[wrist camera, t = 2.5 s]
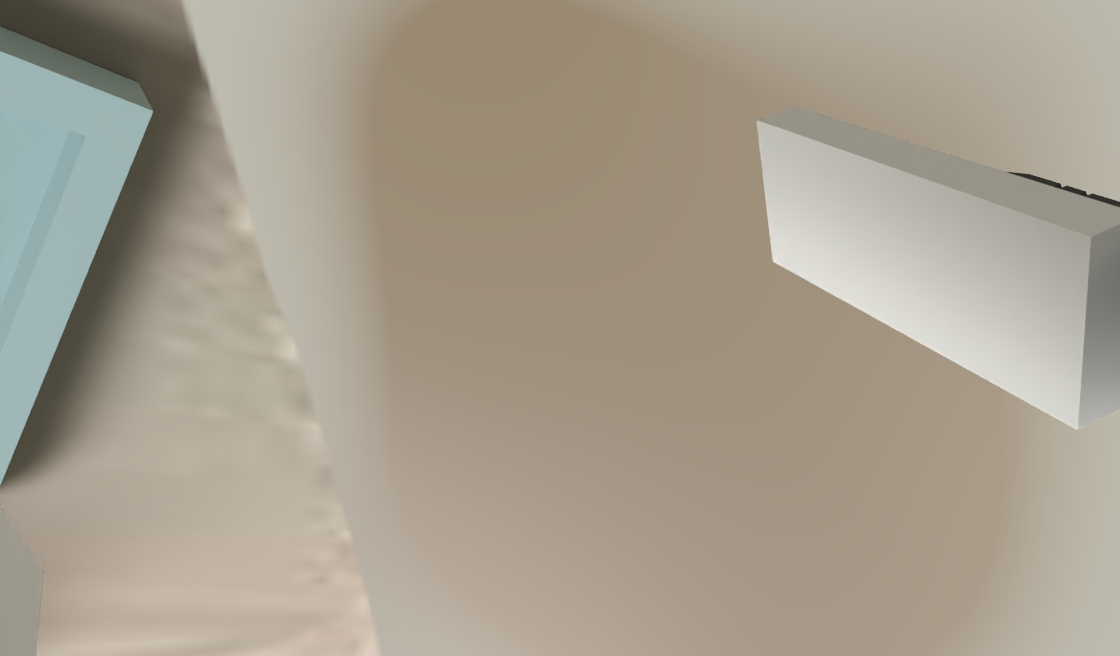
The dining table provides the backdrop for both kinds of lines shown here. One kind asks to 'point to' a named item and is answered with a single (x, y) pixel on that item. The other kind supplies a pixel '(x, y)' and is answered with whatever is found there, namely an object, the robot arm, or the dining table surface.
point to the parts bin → (53, 202)
